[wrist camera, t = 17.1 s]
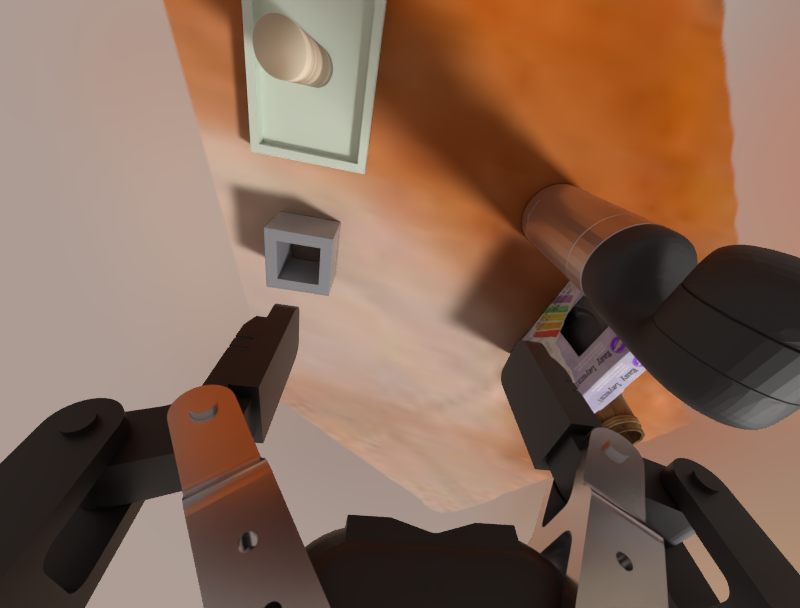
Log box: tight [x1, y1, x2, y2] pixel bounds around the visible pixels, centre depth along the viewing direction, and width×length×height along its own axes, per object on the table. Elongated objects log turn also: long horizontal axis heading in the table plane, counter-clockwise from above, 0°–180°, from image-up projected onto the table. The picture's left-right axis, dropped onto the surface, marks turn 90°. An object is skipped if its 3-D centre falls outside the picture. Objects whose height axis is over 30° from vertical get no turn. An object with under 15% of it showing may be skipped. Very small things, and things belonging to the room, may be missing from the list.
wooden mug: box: [595, 394, 645, 445], centre depth 60 cm, size 9×14×18 cm, turn 96°
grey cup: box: [264, 211, 341, 296], centre depth 44 cm, size 9×9×7 cm
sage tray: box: [242, 0, 387, 174], centre depth 34 cm, size 14×20×2 cm
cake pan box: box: [522, 281, 646, 414], centre depth 49 cm, size 19×5×18 cm, turn 156°
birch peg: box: [253, 13, 333, 88], centre depth 29 cm, size 4×4×13 cm
